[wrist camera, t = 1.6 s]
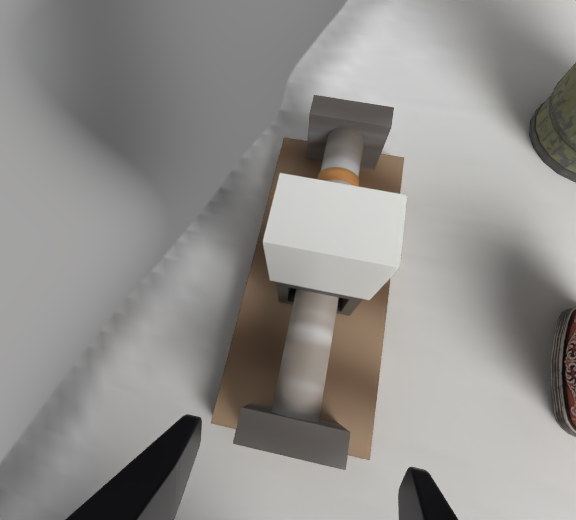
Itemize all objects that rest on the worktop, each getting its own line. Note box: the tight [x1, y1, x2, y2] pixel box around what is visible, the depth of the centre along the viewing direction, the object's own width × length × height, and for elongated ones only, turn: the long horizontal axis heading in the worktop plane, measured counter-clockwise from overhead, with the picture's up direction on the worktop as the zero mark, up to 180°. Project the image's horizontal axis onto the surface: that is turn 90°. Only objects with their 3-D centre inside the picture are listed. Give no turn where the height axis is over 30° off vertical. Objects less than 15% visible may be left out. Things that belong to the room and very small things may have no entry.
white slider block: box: [263, 173, 407, 316], centre depth 18 cm, size 3×5×9 cm, turn 78°
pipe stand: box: [211, 95, 404, 470], centre depth 21 cm, size 20×9×6 cm, turn 168°
